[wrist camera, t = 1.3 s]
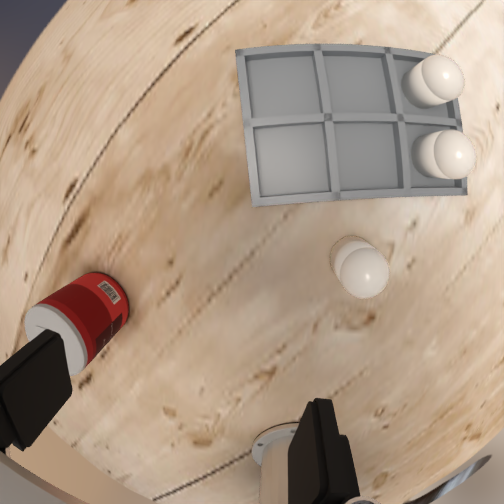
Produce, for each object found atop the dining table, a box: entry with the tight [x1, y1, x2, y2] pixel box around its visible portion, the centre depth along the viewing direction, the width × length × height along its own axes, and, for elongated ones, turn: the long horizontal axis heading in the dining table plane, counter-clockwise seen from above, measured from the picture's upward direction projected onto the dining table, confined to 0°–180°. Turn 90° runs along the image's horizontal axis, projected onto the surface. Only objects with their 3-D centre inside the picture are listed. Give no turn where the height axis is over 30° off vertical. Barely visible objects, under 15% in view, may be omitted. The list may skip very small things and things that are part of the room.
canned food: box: [25, 273, 129, 376], centre depth 28 cm, size 8×8×11 cm
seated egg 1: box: [401, 55, 465, 109], centre depth 21 cm, size 5×5×7 cm
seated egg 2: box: [411, 129, 476, 179], centre depth 23 cm, size 5×5×7 cm
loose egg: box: [330, 236, 390, 299], centre depth 27 cm, size 5×5×7 cm
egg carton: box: [235, 44, 467, 207], centre depth 26 cm, size 16×23×2 cm
